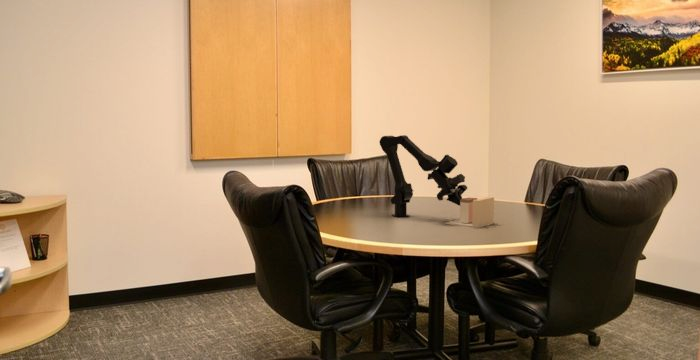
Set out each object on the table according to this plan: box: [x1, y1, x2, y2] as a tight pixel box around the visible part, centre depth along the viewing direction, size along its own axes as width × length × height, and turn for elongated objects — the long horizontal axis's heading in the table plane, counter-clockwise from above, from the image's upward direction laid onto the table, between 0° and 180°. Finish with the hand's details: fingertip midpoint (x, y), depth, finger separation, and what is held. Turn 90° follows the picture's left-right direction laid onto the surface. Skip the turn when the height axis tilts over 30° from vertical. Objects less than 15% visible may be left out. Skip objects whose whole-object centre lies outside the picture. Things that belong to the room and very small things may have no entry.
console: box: [445, 196, 495, 229], centre depth 278 cm, size 16×14×12 cm
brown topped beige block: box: [459, 197, 478, 223], centre depth 278 cm, size 4×8×10 cm, turn 141°
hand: (464, 206), depth 280 cm, fingers closed, pressing on brown topped beige block
